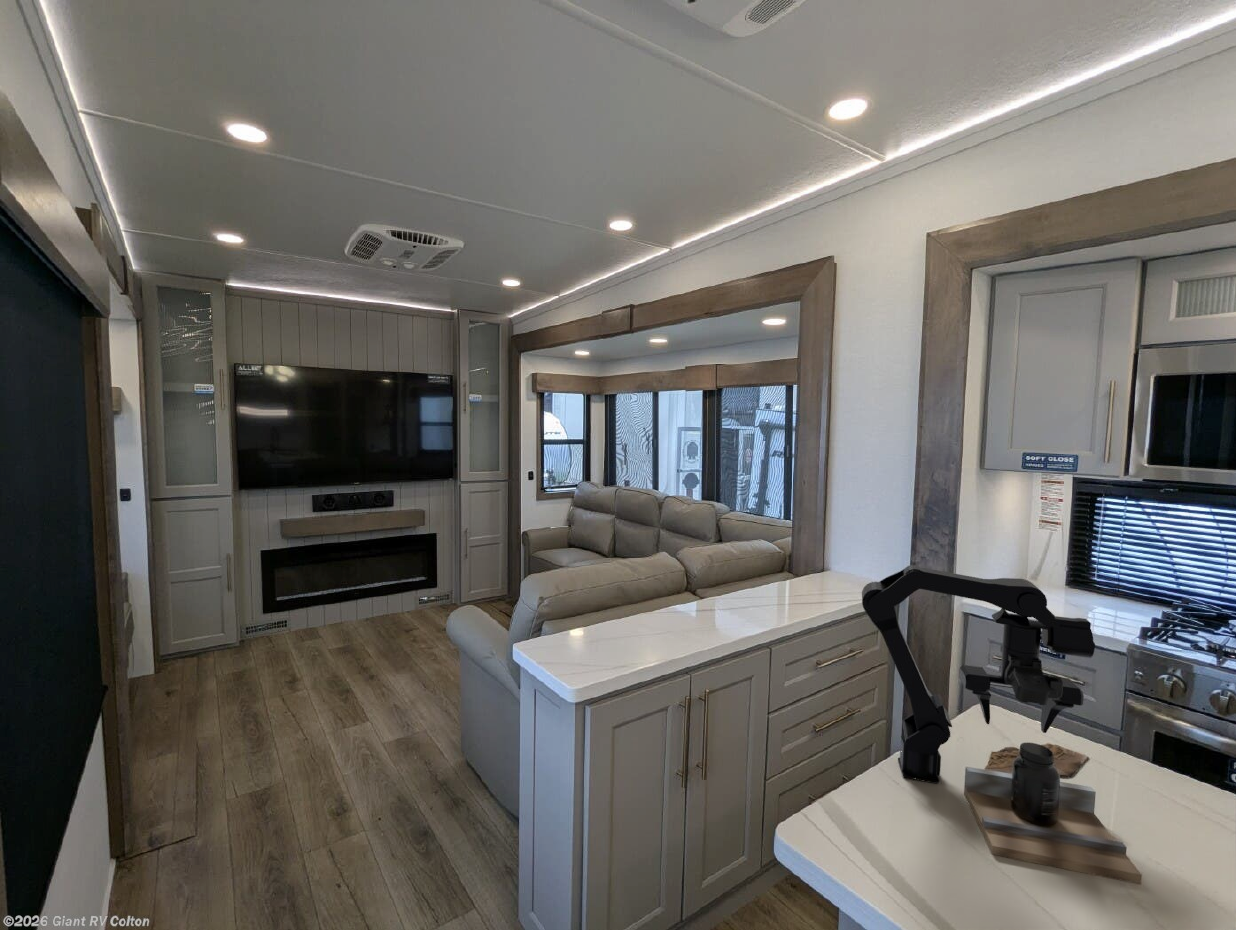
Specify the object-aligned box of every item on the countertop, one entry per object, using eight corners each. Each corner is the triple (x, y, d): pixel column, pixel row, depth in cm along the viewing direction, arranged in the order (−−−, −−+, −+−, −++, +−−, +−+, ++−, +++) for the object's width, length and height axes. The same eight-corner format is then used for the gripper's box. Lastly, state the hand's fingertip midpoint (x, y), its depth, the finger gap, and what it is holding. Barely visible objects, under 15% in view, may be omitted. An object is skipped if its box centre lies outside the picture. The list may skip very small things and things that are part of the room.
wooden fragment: (1061, 743, 127) (1062, 739, 127) (1112, 773, 116) (1113, 768, 116) (960, 755, 123) (960, 750, 122) (1003, 787, 112) (1003, 782, 112)
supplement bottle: (1052, 808, 103) (1056, 744, 102) (1062, 832, 97) (1067, 765, 96) (1006, 797, 106) (1010, 735, 105) (1013, 820, 100) (1018, 754, 99)
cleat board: (991, 854, 94) (993, 822, 93) (963, 793, 109) (965, 766, 109) (1140, 883, 88) (1143, 850, 88) (1089, 815, 103) (1091, 786, 103)
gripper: (976, 657, 103) (970, 740, 104) (1102, 672, 97) (1094, 760, 98) (960, 635, 113) (955, 711, 115) (1072, 648, 108) (1066, 728, 109)
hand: (1015, 727), depth 109 cm, fingers open, 9 cm apart
